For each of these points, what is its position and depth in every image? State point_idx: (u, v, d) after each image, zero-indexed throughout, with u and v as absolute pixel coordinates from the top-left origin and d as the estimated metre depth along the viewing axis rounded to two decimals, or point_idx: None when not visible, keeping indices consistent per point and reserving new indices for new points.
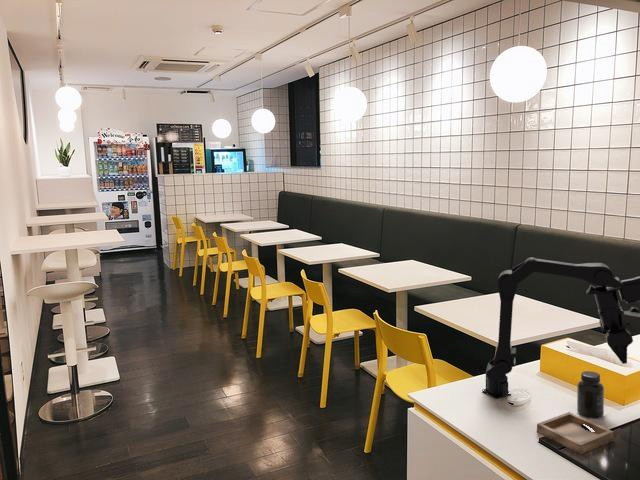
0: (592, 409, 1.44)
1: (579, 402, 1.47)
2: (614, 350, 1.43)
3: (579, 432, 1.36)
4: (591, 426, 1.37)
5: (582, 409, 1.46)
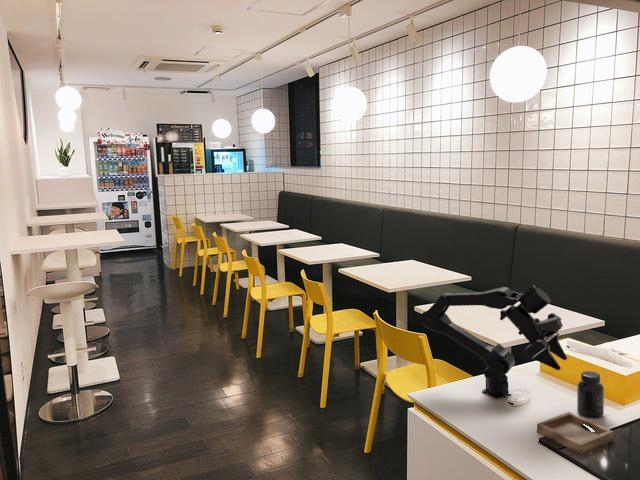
0: (592, 409, 1.44)
1: (579, 402, 1.47)
2: (541, 361, 1.48)
3: (579, 432, 1.36)
4: (591, 426, 1.37)
5: (582, 409, 1.46)
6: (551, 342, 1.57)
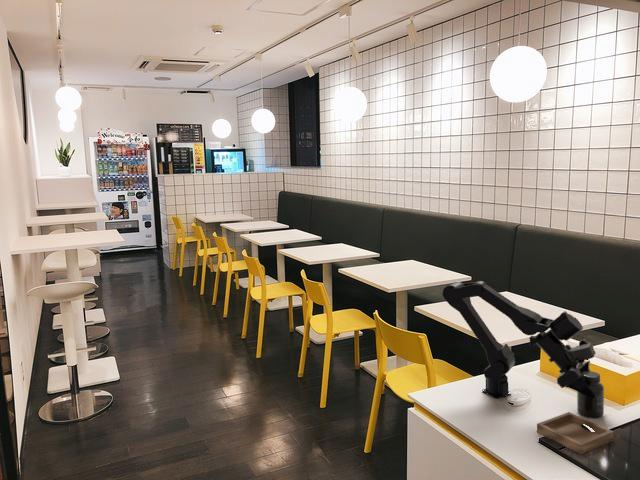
0: (592, 409, 1.44)
1: (579, 402, 1.47)
2: (575, 389, 1.45)
3: (579, 432, 1.36)
4: (591, 426, 1.37)
5: (582, 409, 1.46)
6: (582, 370, 1.51)
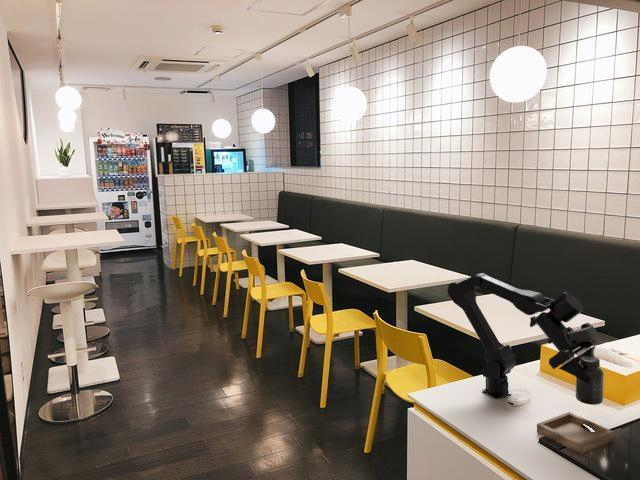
0: (587, 394, 1.38)
1: (576, 387, 1.41)
2: (569, 372, 1.39)
3: (579, 432, 1.36)
4: (591, 426, 1.37)
5: (578, 394, 1.41)
6: (585, 355, 1.45)
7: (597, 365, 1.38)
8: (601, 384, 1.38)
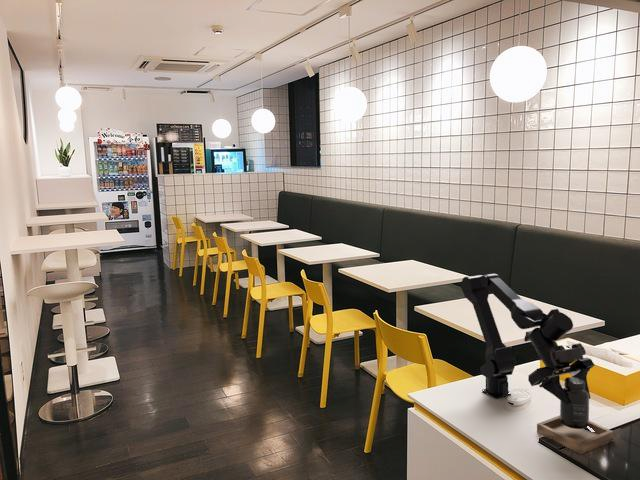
0: (567, 417, 1.33)
1: (560, 408, 1.37)
2: (550, 391, 1.35)
3: (579, 432, 1.36)
4: (591, 426, 1.37)
5: (560, 415, 1.36)
6: (577, 377, 1.38)
7: (580, 388, 1.32)
8: (583, 408, 1.32)
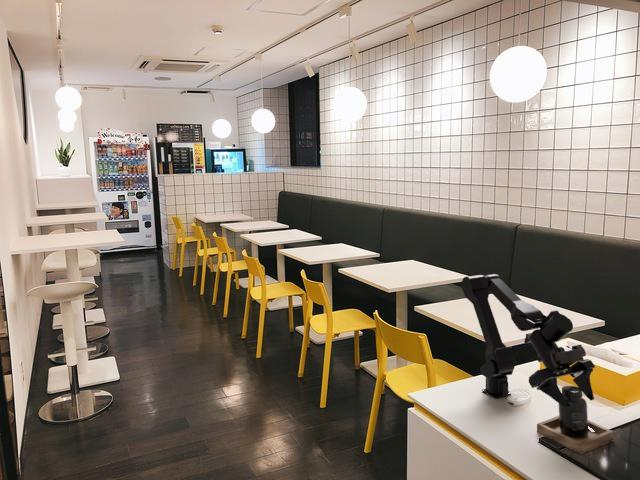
0: (567, 426, 1.34)
1: (559, 417, 1.37)
2: (547, 393, 1.35)
3: None
4: (591, 426, 1.37)
5: (560, 425, 1.36)
6: (580, 378, 1.39)
7: (577, 396, 1.33)
8: (581, 417, 1.32)
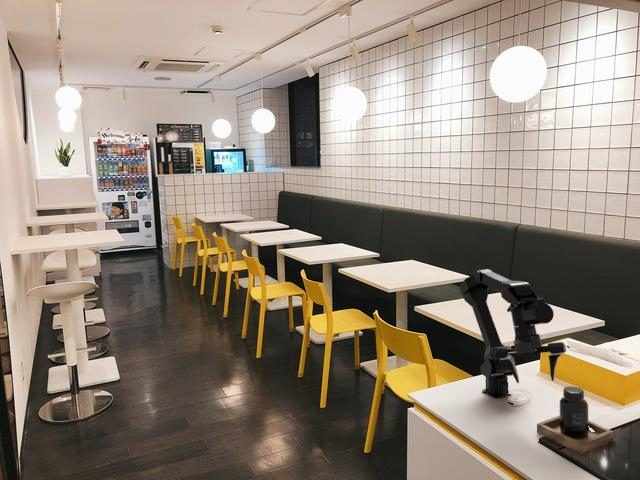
0: (567, 426, 1.34)
1: None
2: None
3: None
4: (591, 426, 1.37)
5: (560, 425, 1.36)
6: None
7: (578, 397, 1.32)
8: (582, 418, 1.32)
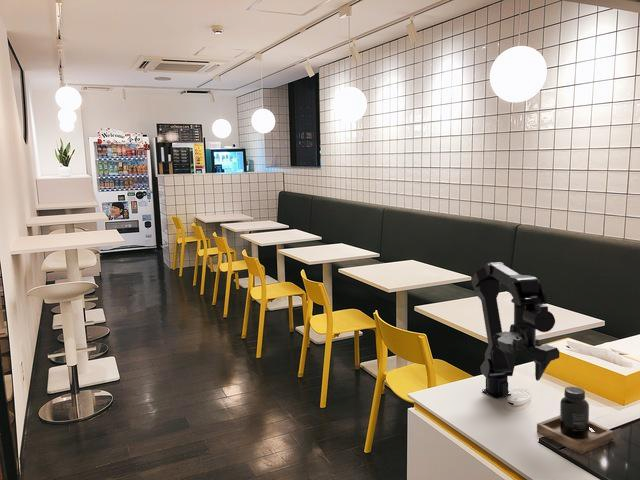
0: (567, 426, 1.34)
1: (560, 417, 1.37)
2: None
3: None
4: (591, 426, 1.37)
5: (560, 425, 1.36)
6: None
7: (579, 398, 1.32)
8: (583, 418, 1.32)
